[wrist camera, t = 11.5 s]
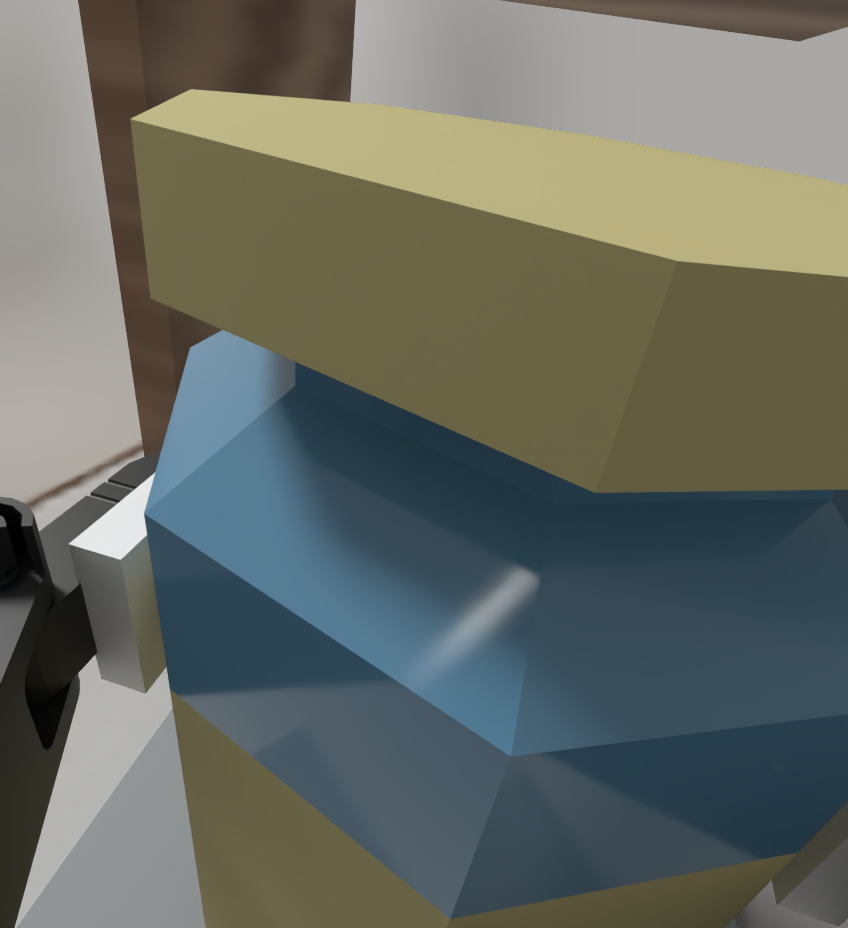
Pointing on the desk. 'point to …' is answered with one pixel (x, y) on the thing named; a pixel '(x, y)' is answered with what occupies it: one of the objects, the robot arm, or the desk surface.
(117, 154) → the shelf
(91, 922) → the mat
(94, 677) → the desk surface
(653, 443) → the jar
